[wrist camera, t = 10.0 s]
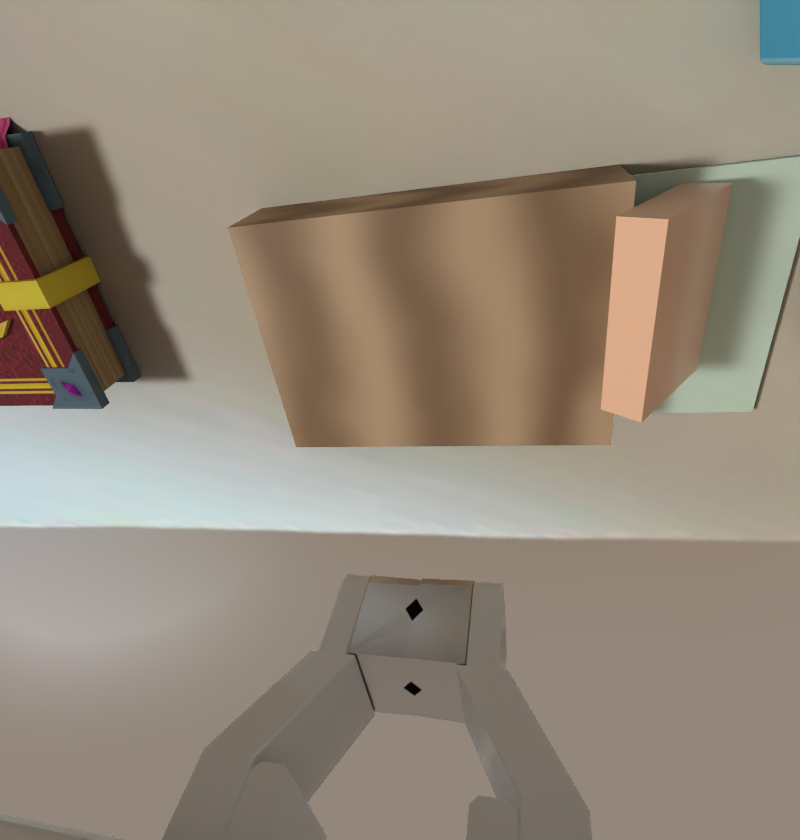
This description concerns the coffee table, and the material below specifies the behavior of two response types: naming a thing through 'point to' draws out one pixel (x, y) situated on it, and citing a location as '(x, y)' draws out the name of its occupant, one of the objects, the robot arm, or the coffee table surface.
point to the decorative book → (49, 295)
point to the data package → (780, 32)
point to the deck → (441, 311)
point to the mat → (739, 278)
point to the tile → (661, 295)
